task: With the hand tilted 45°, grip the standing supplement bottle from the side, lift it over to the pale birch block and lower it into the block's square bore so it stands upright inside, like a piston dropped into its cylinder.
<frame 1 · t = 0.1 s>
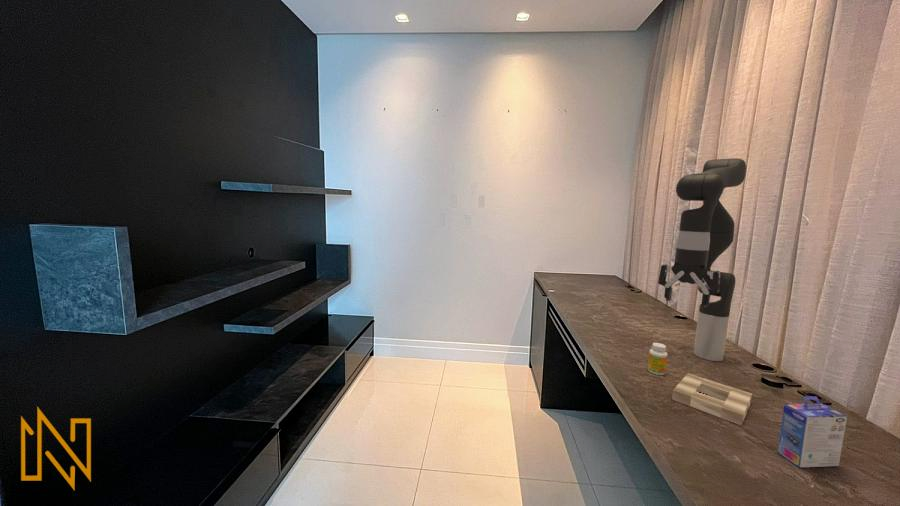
hand: (685, 303, 98), 29 cm above the table, tool pointing down, fingers open, 8 cm apart
supplement bottle: (656, 372, 119), on the table
bore block: (711, 401, 101), on the table
ink cartridge box: (806, 459, 79), on the table
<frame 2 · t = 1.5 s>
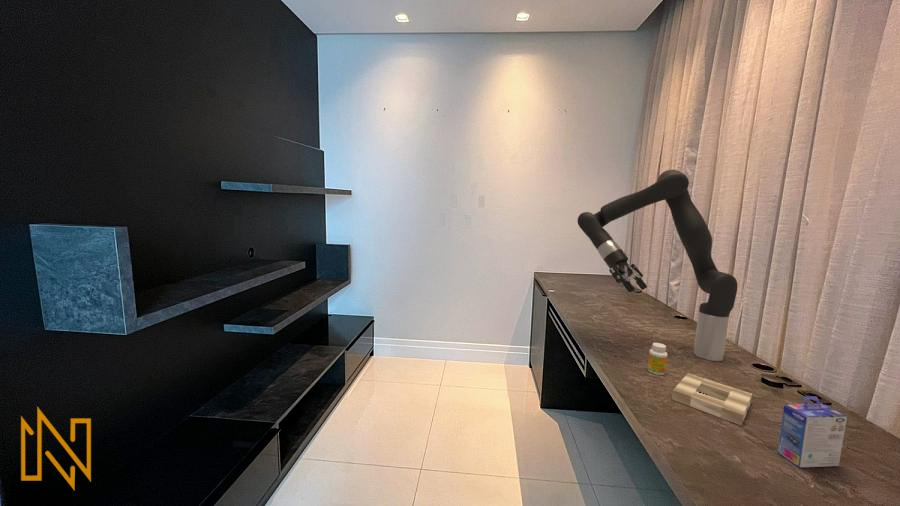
hand: (638, 289, 125), 27 cm above the table, tool tilted 45°, fingers open, 8 cm apart
nothing on the table moved.
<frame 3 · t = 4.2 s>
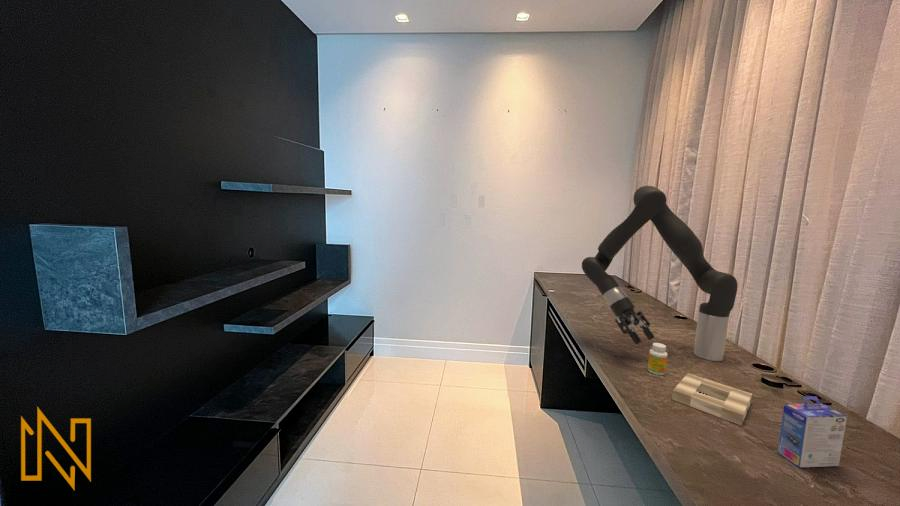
hand: (645, 340, 122), 9 cm above the table, tool tilted 45°, fingers open, 8 cm apart
nothing on the table moved.
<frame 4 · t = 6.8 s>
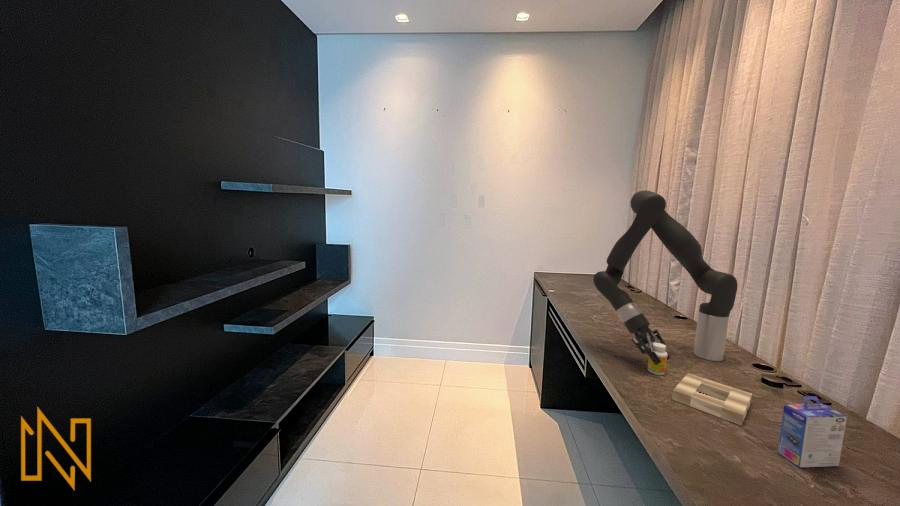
hand: (663, 361, 117), 4 cm above the table, tool tilted 45°, fingers closed on supplement bottle, 5 cm apart
supplement bottle: (656, 372, 119), on the table, touching gripper
everything else where it was.
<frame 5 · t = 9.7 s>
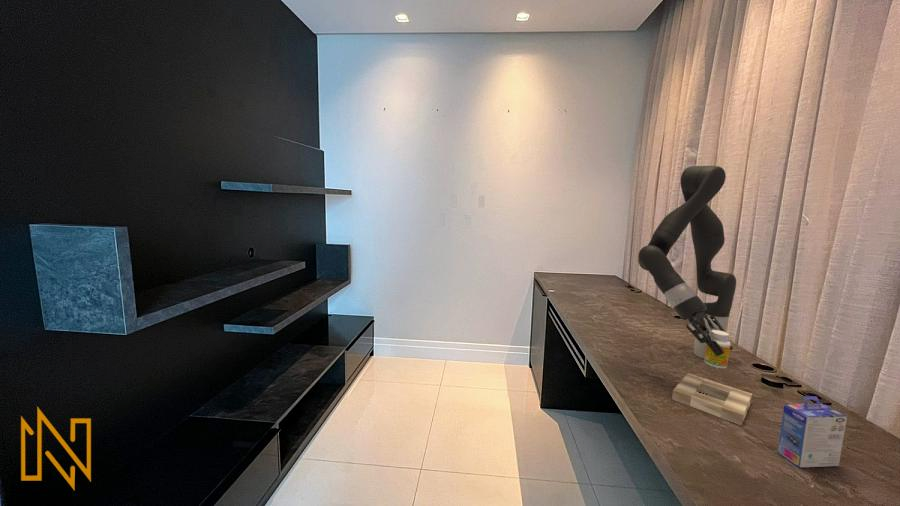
hand: (725, 352, 98), 16 cm above the table, tool tilted 45°, fingers closed on supplement bottle, 5 cm apart
supplement bottle: (715, 364, 100), point 11 cm above the table, touching gripper
everything else where it was.
when the fingers open (5 cm above the table, at t = 13.0 s): supplement bottle drops 1 cm, resting in bore block.
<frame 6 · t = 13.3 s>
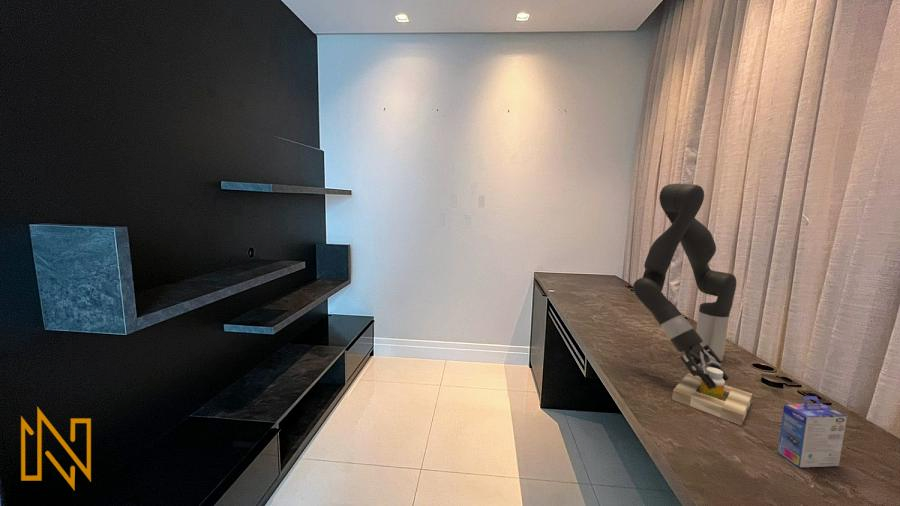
hand: (719, 384, 99), 6 cm above the table, tool tilted 45°, fingers open, 8 cm apart
supplement bottle: (710, 401, 102), resting in bore block
everything else where it was.
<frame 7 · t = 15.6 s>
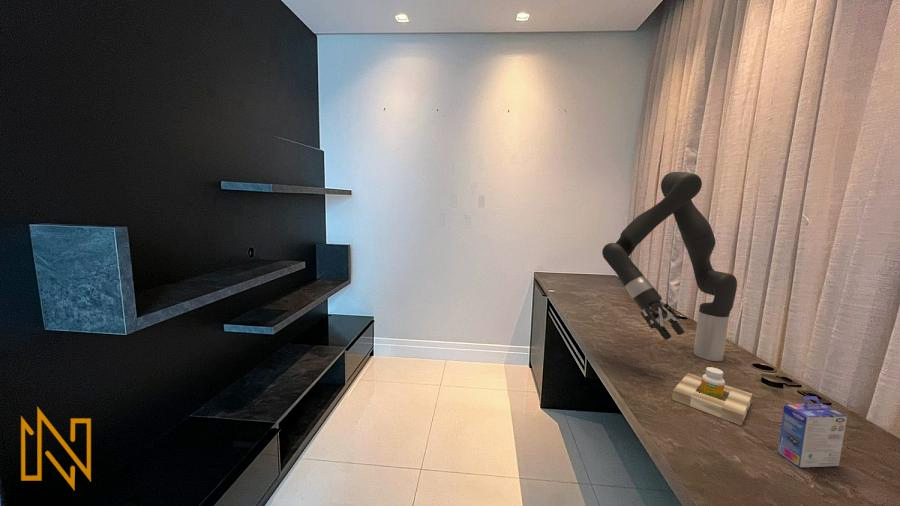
hand: (675, 336, 109), 16 cm above the table, tool tilted 45°, fingers open, 8 cm apart
nothing on the table moved.
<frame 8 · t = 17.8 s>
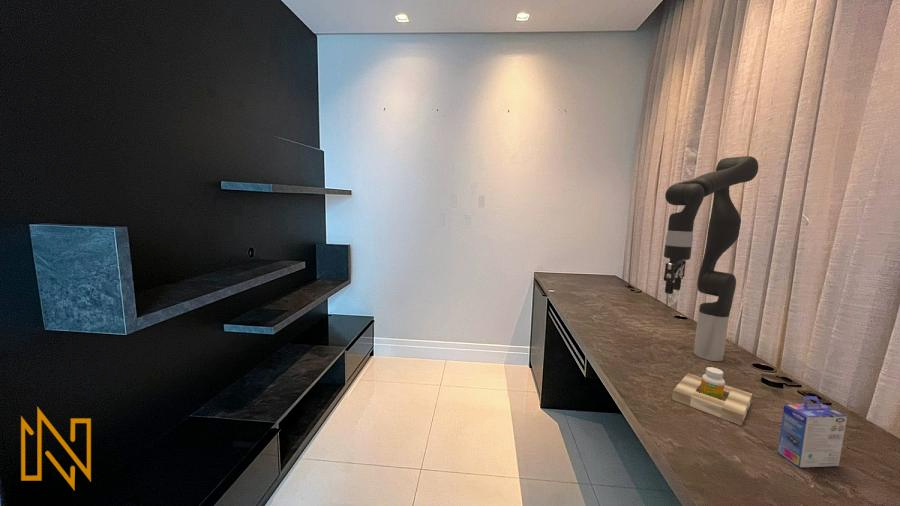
hand: (672, 291, 117), 28 cm above the table, tool pointing down, fingers open, 8 cm apart
nothing on the table moved.
at the end: supplement bottle 0.2 cm off-centre on the bore block, point 0.0 cm above the bore block's base; supplement bottle tilted 0°; the gripper is holding nothing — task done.
